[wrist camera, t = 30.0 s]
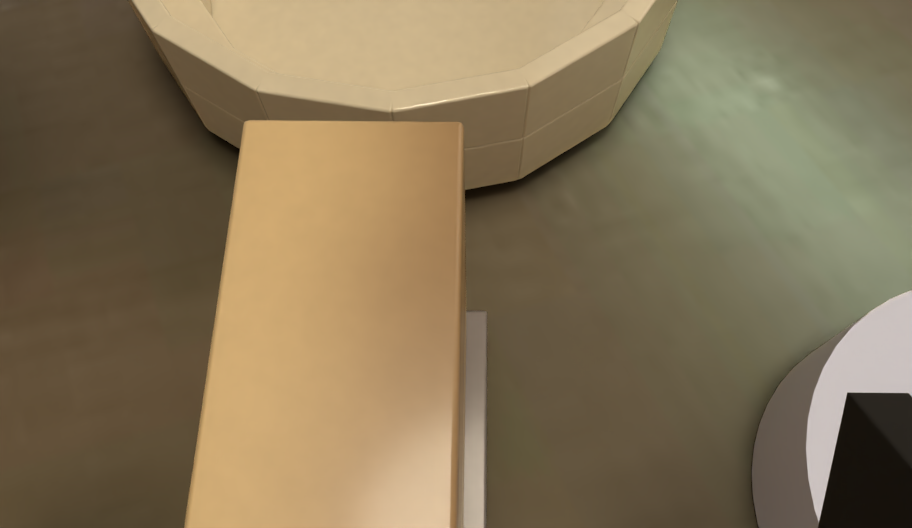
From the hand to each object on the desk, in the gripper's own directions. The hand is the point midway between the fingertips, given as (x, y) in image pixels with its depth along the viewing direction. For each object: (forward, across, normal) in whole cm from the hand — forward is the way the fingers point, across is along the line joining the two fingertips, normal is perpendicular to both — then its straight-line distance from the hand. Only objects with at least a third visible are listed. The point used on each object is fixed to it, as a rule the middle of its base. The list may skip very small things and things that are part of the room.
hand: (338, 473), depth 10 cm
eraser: (+8, 0, -6) cm, 9 cm away
